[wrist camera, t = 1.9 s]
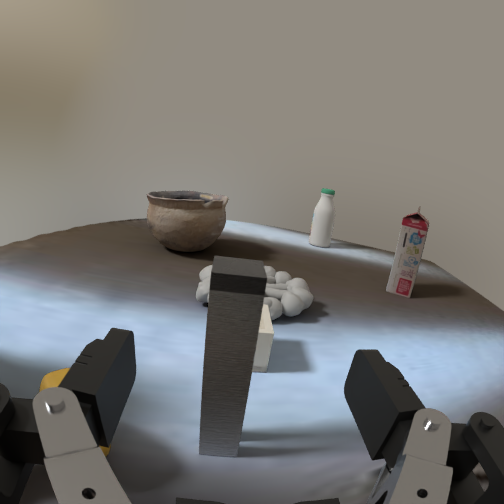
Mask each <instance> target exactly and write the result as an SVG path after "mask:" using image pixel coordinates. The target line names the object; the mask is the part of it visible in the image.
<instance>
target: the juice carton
mask: <svg viewBox="0 0 504 504" xmlns="http://www.w3.org/2000/svg"><path fill="white" fill-rule="evenodd" d="M419 212H420V207H419V209H418V212H417V213H414V214H410V215H407V216H406V217H404V218H403V221H402V226H401V231H400V235H399V240H398V244H397V249H396V253H395V257H394V261H393V265H392V269H391V273H390V277H389V281H388V284H387V288H386V291H388V292H391V293H394V294H398V295H401V296H404V297H407V298H410V296H411V293H412V290H413V286H414V283H415V279H416V276H417V272H418V268H419V265H420V261H421V257H422V252H423V249H424V244H425V240H426V235H427V231H428V227H429V221H428V220H427V219H426V218H425V217H424V216H422V215H421V214H420V213H419Z"/></svg>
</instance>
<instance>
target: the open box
mask: <svg viewBox="0 0 504 504" xmlns="http://www.w3.org/2000/svg"><path fill="white" fill-rule="evenodd" d="M273 336H274V331H273V327H272V322H271V317H270V313H269V308H268V305H265V304H263V308H262V314H261V321H260V327H259V333H258V339H257V345H256V351H255V357H254V363H253V369H252V372H265V373H266V372H267V367H268V362H269V357H270V352H271V347H272V341H273Z"/></svg>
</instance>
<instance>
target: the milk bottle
mask: <svg viewBox="0 0 504 504" xmlns="http://www.w3.org/2000/svg"><path fill="white" fill-rule="evenodd" d="M321 192H322V193H321V195H322V196H321V199H320V201H319V203H318V204H317V206H316V208H315V210H314V214H313V219H312V225H311V231H310V236H309V243H310V244H311V245H314V246H318V247H329V246H330V242H331V236H332V231H333V225H334V219H335V208H334V205H333V197H334V194H335V191H334V190H330V189H324V188H323V189H322V191H321Z"/></svg>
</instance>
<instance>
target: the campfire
mask: <svg viewBox="0 0 504 504" xmlns="http://www.w3.org/2000/svg"><path fill="white" fill-rule="evenodd" d="M264 268H265V271H266V275H267V283H266V289H265V296H264V302H263V304H265V305H268V308H269V313H270V317H271V320H274V319H276V318H278V317H280V316H281V314H282V312H283V313H284V314H285V315H286V316H291V317H293V316H296V315H298V314H300V313H301V311H302V310H304V309H306V308H308V307H310V305H311V303H312V301H313V298H314V296H313V295H312V294H311V293H310V291H309V288H308V285H307V283H306V282H305V281H304V280H303V279H301V278H294V279H293V280H292V278H291V276H290V275H289V274H288V273H287V272H283V271H282V272H281V271H280V272H277V273H276V271H275V270H274V269H273V268H272V267H271V266H264ZM211 270H212V265H210V266H207V267H205V268H204V269H203V270H202V271H201V272H200V275H199V276H200V279H201V281H202V282H200V283H199V287H198V289H197V293H196V299H197V300H198V301H199V302H204V303H205V302H208V301H209V289H210V278H211ZM280 301H281V302H280Z"/></svg>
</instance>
